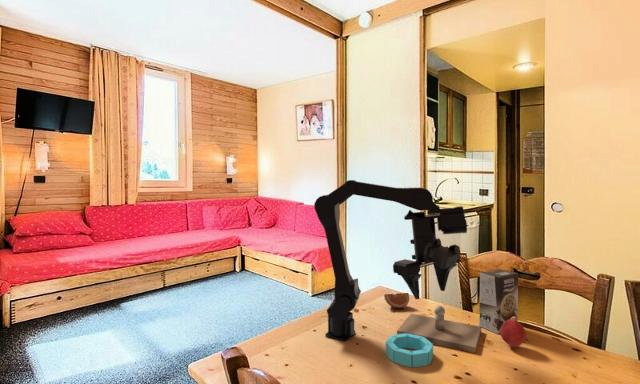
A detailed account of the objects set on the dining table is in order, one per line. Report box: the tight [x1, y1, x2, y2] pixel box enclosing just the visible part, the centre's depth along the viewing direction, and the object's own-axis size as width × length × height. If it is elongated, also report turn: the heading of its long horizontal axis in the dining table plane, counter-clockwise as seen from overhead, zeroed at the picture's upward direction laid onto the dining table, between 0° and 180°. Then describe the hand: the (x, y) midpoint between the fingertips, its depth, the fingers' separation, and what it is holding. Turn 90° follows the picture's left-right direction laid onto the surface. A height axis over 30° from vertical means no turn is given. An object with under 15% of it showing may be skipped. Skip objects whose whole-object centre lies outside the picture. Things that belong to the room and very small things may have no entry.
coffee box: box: [478, 268, 519, 335], centre depth 102 cm, size 9×6×16 cm
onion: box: [499, 317, 527, 349], centre depth 90 cm, size 6×6×8 cm
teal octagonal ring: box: [385, 333, 434, 368], centre depth 87 cm, size 11×11×3 cm
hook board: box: [396, 305, 482, 354], centre depth 98 cm, size 20×14×8 cm
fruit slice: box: [383, 292, 410, 310], centre depth 119 cm, size 8×7×5 cm
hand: (430, 294), depth 92 cm, fingers open, 9 cm apart
